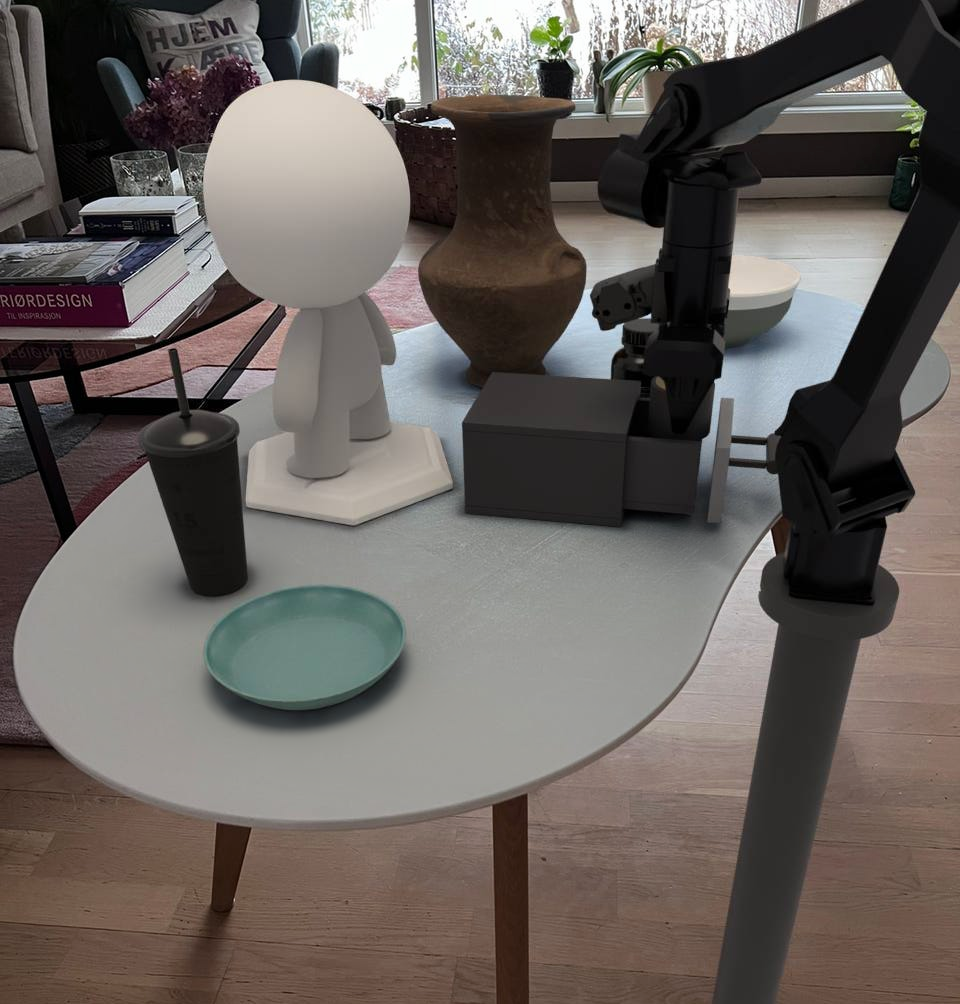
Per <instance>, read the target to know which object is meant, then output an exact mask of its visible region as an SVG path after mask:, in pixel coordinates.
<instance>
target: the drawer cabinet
mask: <svg viewBox="0 0 960 1004" xmlns="http://www.w3.org/2000/svg"><path fill="white" fill-rule="evenodd" d="M481 388H482V387H481ZM640 389H641V381H632V380H615V379H611V378H598V377H597V378H596V377H582V376H581V377H580V376H579V377H578V376H564V375H547V374H546V375H532V374H516V373H499V372H492V373H491V375H490V377H489V378H488V380H487V382H486V383H485V385H484V387H483V388H482V389H481V390H480V391H479V393H478V395H477V396H476V398H475V400H474V401H473V403H472V405H471V406H470V408H469V410H468V411H467V413H466V415H465V416H464V418H463V420H462V421H461V430H462V432H461V433H462V435H461V436H462V461H463V462H462V464H463V489H464V491H463V492H464V493H463V494H464V495H463V496H464V513H465V514H470V515H471V514H472V515H481V516H483V515H484V516H491V517H492V516H494V517H502V518H503V517H504V518H514V519H515V518H517V519H526V520H537V521H538V520H539V521H549V522H561V523H571V524H573V523H574V524H582V525H592V526H593V525H594V526H606V527H617V528H621V527H622V523H623V520H624V515H625V511H626V509H623V496H624V480H625V465H626V449H627V437H628V434H629V430H630V426H631V423H632V419H633V415H634V411H635V408H636V404H637V400H638V397H640V391H641V390H640Z"/></svg>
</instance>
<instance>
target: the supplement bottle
mask: <svg viewBox="0 0 960 1004" xmlns="http://www.w3.org/2000/svg"><path fill="white" fill-rule="evenodd" d="M657 326H658V323H651V317H650V318H645V317H642V318H639V319H636V320H632V321H629V322H626V323H623V324H622V332H621V333H622V334H621V339H620V343H621V345H622V347H620V348H619V349H617V350H616V352H614V354H613V356H612V357H611V361H610V363H611V364H610V379H615V380H632V381H641V389H640V390H641V391H640V397H644V398H650V391H651V381H652V379H653V378H654V377H655V376H648V375H645V374H643V362H644V350H645V347H646V343H647V340H648V337H649V336H650V335H651V334H652V333H654V332H655V331H656V330H657Z"/></svg>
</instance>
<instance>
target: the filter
mask: <svg viewBox="0 0 960 1004" xmlns="http://www.w3.org/2000/svg"><path fill="white" fill-rule="evenodd" d="M715 390H716V383H715V381H714V383H713V384H712V386H711V388H710V389H709V391H708V393H707V394H706V396H705V398H704V400H703V402H702V403H701V405H700V407H699V408H698V410H697V412H696V414H695V416H694V417H693V419H692V421H691V423H690V425H689V426H688V428H687V430H686V432H685V433H683V434H680V433H673V432H672V427H671V420H670V414H669V407H668V400H667V394H666V388H665V383H664V381H663V380H662V379H661V378H660V377H654V378H653V379H652V381H651V391H650V404H649V417H648V431H649V433H650V434H651V435H652V436H654V437H656V438H660V439H674V440H688V441H698V440H701V439H702V440H704V439H705V438H707V437H708V436H709V435H710V433H711V427H712V418H713V409H714V399H715V392H716V391H715Z"/></svg>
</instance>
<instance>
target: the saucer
mask: <svg viewBox="0 0 960 1004" xmlns="http://www.w3.org/2000/svg"><path fill="white" fill-rule="evenodd" d="M406 640H407V628H406V624H405V620H404V619H403V617H402V616H401V613H399V611H398V610H397V609H396V608H395V607H394V606H393V605H392V604H391V603H390V602H388V601H387V600H386V599H385V598H382V597H380V596H378V595H376V594H374V593H371V592H369V591H366V590H363V589H359V588H355V587H351V586H350V587H349V586H343V585H339V584H306V585H297V586H296V585H295V586H290V587H285V588H281V589H276V590H273V591H270V592H267V593H263V594H261V595H258V596H255V597H252V598H251V599H248V600H246V601H244V602H243V603H241V604H240V603H239V604H238V605H237V606H235V607H233V608H232V609H230V610H229V611H228V612H227V613H225V614H224V615H223V616H222V617H220V619H219V620H217V622H216V623H215V624H214V625H213V626H212V627H211V629H210V630H209V632H208V634H207V635H206V638H205V640H204V643H203V649H202V654H203V655H202V656H203V661H204V663H205V666H206V669H207V671H208V672H209V673H210V675H211V676H212V678H214V680H215V681H217V682H218V683H219V684H220V685H222V686H223V687H225V688H226V689H227V690H228V691H230V692H232V693H234V694H236V695H237V696H238V697H241V698H243V699H245V700H248V701H249V702H253V703H255V704H258V705H262V706H265V707H269V708H273V709H278V710H285V711H308V710H309V711H310V710H317V709H323V708H327V707H331V706H334V705H336V704H340V703H343V702H346V701H348V700H350V699H352V698H354V697H356V696H358V695H359V694H361V693H363V692H364V691H366V690H367V689H369V688H370V687H372V686H373V685H374V684H376V683H377V682H379V680H380V679H381V678H382V677H384V675H386V673H387V672H389V670H390V669H391V668H392V667H393V666H394V664H395V663H396V662H397V660H398V658H399V657H400V655H401V654H402V651H403V649H404V647H405V644H406Z"/></svg>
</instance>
